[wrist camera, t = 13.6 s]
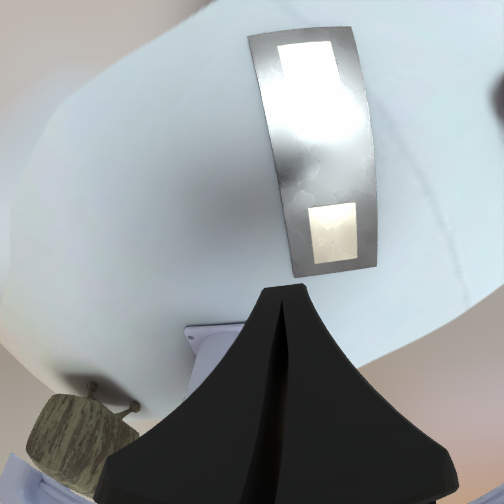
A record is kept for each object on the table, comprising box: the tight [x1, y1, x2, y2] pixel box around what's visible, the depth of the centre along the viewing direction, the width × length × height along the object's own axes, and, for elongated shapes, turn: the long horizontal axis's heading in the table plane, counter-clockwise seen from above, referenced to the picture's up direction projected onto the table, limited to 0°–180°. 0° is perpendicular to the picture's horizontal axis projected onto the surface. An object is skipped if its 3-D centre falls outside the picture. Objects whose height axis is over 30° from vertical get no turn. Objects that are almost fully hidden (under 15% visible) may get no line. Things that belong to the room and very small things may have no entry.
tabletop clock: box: [26, 382, 140, 499], centre depth 22 cm, size 14×9×25 cm, turn 112°
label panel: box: [248, 27, 377, 278], centre depth 15 cm, size 16×6×1 cm, turn 12°
